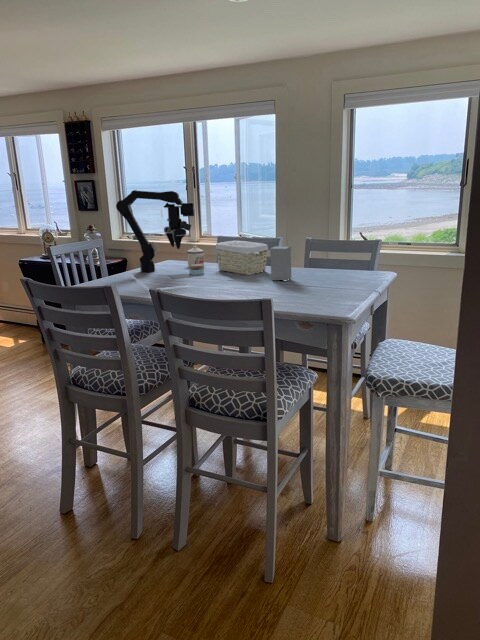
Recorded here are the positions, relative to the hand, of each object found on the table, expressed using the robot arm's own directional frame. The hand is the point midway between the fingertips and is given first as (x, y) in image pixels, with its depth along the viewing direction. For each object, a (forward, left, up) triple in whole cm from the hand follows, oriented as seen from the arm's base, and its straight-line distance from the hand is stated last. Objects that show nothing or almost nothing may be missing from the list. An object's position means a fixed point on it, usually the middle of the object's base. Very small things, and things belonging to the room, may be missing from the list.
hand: (175, 247), depth 241 cm
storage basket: (+32, -12, -13) cm, 36 cm away
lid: (+7, -11, -10) cm, 16 cm away
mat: (-3, -14, -13) cm, 19 cm away
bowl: (+7, -11, -13) cm, 19 cm away
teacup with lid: (+16, +12, -13) cm, 24 cm away
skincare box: (+38, -42, -13) cm, 58 cm away
